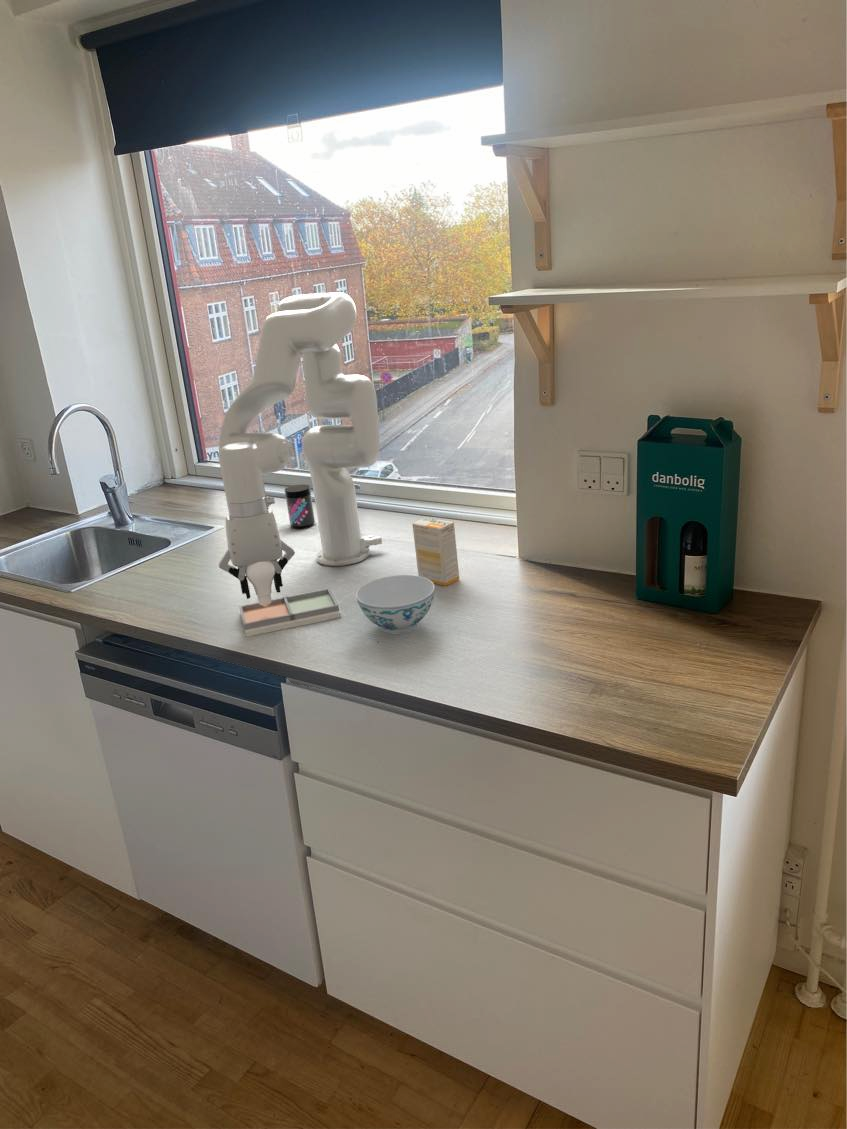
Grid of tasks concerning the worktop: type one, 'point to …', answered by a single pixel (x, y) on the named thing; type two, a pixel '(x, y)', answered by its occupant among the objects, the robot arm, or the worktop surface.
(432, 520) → the supplement box
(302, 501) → the supplement container
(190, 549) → the worktop surface
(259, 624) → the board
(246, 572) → the lightbulb
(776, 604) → the worktop surface
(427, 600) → the chinaware
